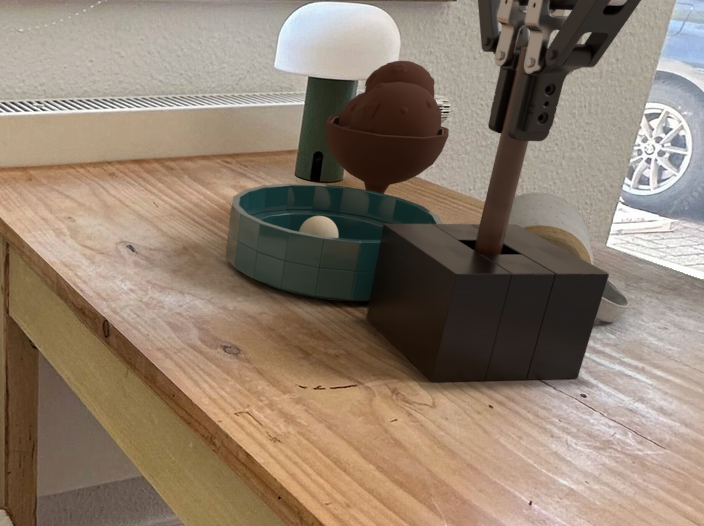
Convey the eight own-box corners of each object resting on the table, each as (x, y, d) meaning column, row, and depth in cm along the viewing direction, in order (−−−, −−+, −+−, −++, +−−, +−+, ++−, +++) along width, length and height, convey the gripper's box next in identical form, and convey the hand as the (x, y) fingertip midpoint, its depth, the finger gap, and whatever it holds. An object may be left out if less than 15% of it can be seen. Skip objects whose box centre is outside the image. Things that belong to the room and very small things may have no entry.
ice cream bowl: (301, 206, 88) (323, 51, 82) (412, 213, 88) (443, 58, 82) (320, 239, 79) (348, 66, 73) (445, 246, 79) (483, 73, 72)
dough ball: (327, 242, 75) (353, 232, 72) (308, 266, 74) (332, 257, 71) (304, 214, 74) (328, 203, 71) (284, 237, 73) (308, 227, 70)
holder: (493, 316, 64) (516, 224, 61) (578, 378, 55) (610, 273, 52) (365, 318, 62) (383, 223, 59) (431, 382, 53) (456, 274, 51)
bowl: (377, 238, 80) (387, 184, 78) (468, 306, 65) (484, 242, 63) (204, 238, 78) (209, 182, 75) (259, 308, 63) (268, 242, 61)
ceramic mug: (470, 312, 64) (497, 210, 61) (469, 277, 71) (493, 184, 68) (632, 341, 61) (668, 235, 58) (613, 301, 68) (645, 205, 65)
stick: (472, 327, 59) (540, 47, 52) (485, 337, 57) (557, 50, 50) (450, 328, 59) (515, 46, 51) (462, 337, 57) (531, 49, 50)
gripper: (767, -213, 40) (651, 163, 47) (579, -179, 52) (510, 116, 60) (619, -227, 39) (523, 161, 46) (462, -189, 51) (406, 113, 58)
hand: (516, 134), depth 53 cm, fingers closed on stick
